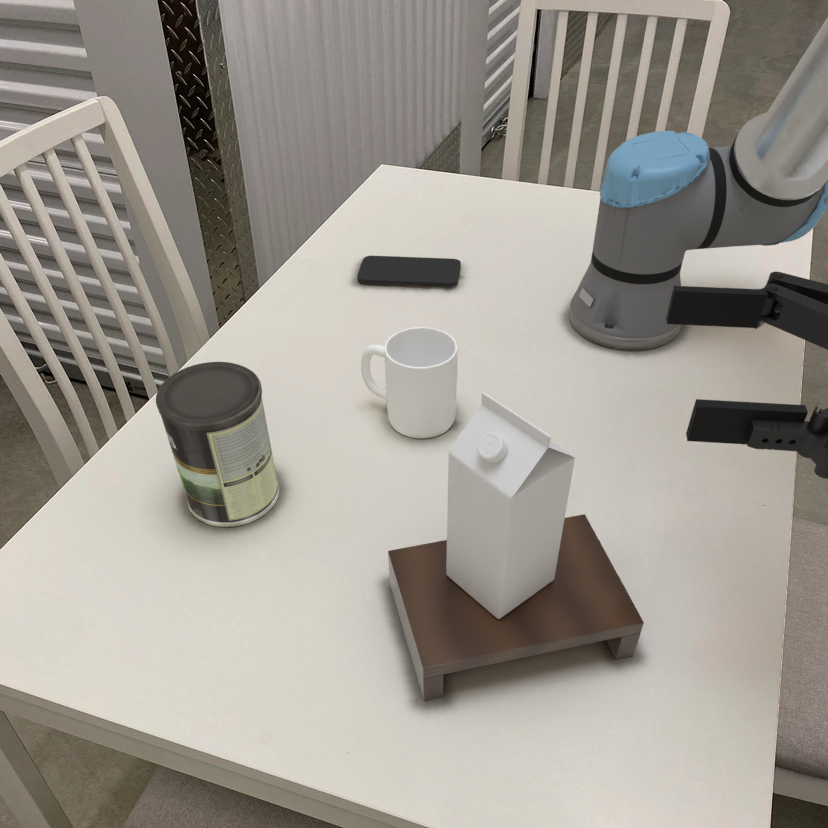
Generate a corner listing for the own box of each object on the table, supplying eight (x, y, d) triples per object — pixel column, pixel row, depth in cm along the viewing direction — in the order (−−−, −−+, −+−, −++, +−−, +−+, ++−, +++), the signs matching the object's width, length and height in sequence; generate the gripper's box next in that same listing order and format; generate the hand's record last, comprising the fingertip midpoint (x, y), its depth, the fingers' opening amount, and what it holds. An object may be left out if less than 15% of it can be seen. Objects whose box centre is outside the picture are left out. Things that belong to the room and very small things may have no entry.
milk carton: (500, 538, 79) (515, 374, 65) (554, 581, 75) (582, 416, 61) (445, 575, 76) (448, 411, 62) (498, 621, 72) (515, 457, 58)
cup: (439, 447, 96) (440, 375, 88) (348, 422, 99) (342, 350, 92) (466, 407, 101) (468, 335, 93) (379, 384, 104) (374, 313, 97)
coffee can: (182, 531, 87) (148, 427, 77) (192, 467, 94) (162, 364, 84) (279, 524, 88) (258, 420, 77) (281, 461, 95) (263, 357, 84)
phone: (364, 254, 126) (461, 258, 124) (364, 260, 126) (461, 263, 125) (355, 279, 121) (457, 283, 119) (356, 284, 121) (457, 288, 120)
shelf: (578, 548, 85) (584, 513, 81) (633, 655, 75) (644, 622, 72) (389, 584, 82) (387, 550, 78) (423, 701, 72) (423, 669, 69)
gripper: (1056, 552, 48) (687, 526, 50) (925, 321, 65) (653, 309, 67) (1137, 454, 43) (719, 430, 44) (971, 230, 59) (673, 220, 61)
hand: (679, 358), depth 56 cm, fingers open, 13 cm apart
